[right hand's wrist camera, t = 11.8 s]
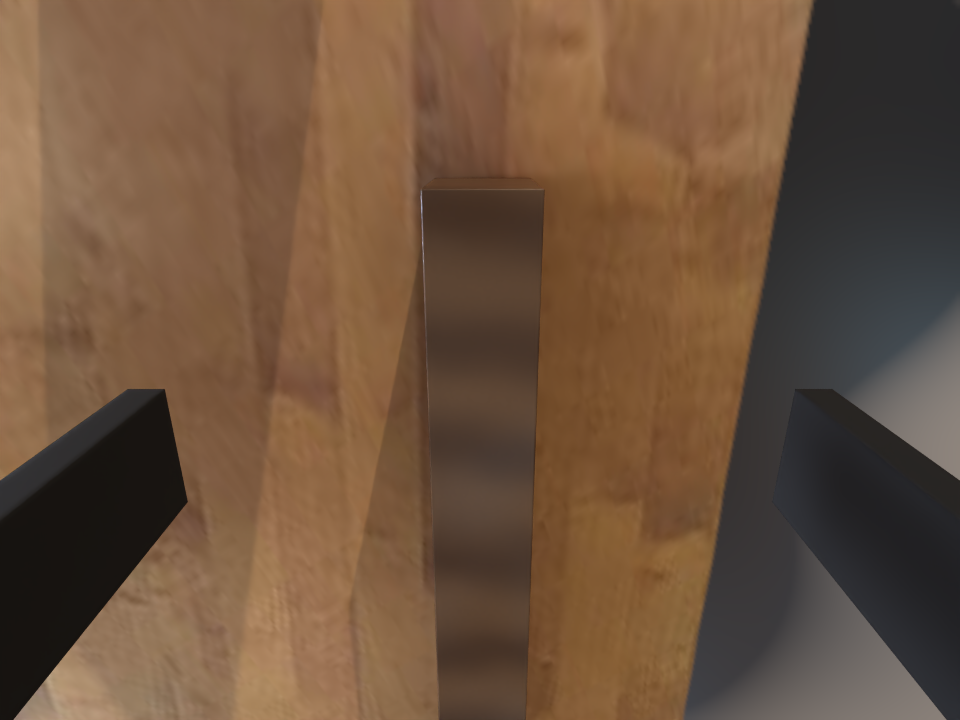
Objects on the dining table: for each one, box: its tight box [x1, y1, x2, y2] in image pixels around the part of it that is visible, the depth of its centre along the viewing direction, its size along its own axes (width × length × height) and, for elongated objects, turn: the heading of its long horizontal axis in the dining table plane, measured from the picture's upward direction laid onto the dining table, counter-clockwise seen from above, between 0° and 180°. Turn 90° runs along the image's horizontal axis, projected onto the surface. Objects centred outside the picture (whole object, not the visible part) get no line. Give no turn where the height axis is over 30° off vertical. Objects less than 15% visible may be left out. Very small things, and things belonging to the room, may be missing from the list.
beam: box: [420, 178, 544, 720], centre depth 40 cm, size 63×5×8 cm, turn 0°
